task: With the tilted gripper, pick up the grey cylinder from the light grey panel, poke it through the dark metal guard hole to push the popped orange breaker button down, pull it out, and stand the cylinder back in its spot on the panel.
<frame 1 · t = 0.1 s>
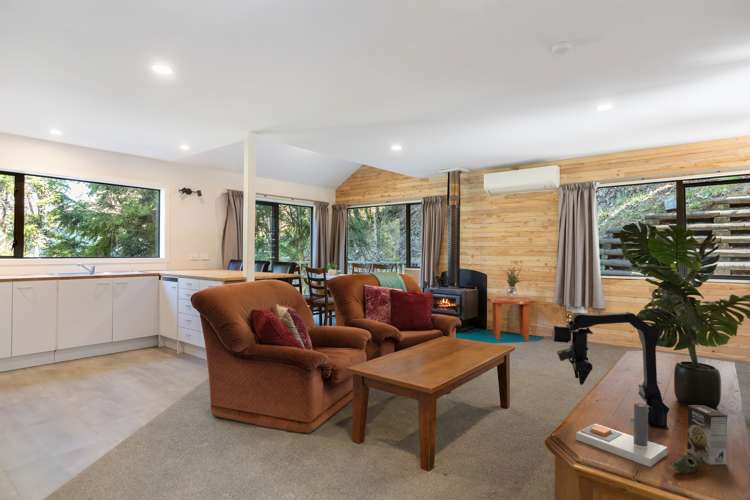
hand: (579, 381, 175), 15 cm above the table, tool pointing down, fingers open, 9 cm apart
coffee box: (706, 458, 141), on the table
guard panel: (619, 446, 148), on the table
grey cylinder: (640, 446, 143), point 2 cm above the table, touching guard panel
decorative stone: (687, 472, 132), on the table
breaker button: (601, 431, 154), point 3 cm above the table, slide at 0.0 cm
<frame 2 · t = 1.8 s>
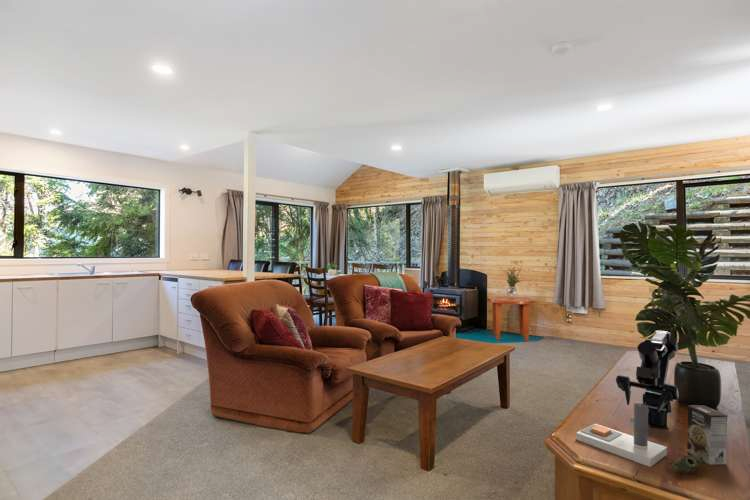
hand: (642, 408, 149), 13 cm above the table, tool tilted 45°, fingers open, 9 cm apart
nothing on the table moved.
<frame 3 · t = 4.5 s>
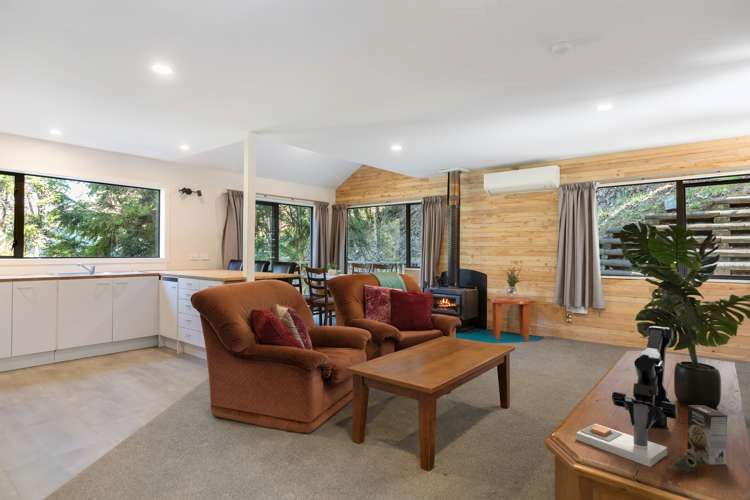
hand: (640, 427, 142), 10 cm above the table, tool tilted 45°, fingers closed on grey cylinder, 4 cm apart
grey cylinder: (640, 446, 143), point 3 cm above the table, touching gripper, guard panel
everything else where it was.
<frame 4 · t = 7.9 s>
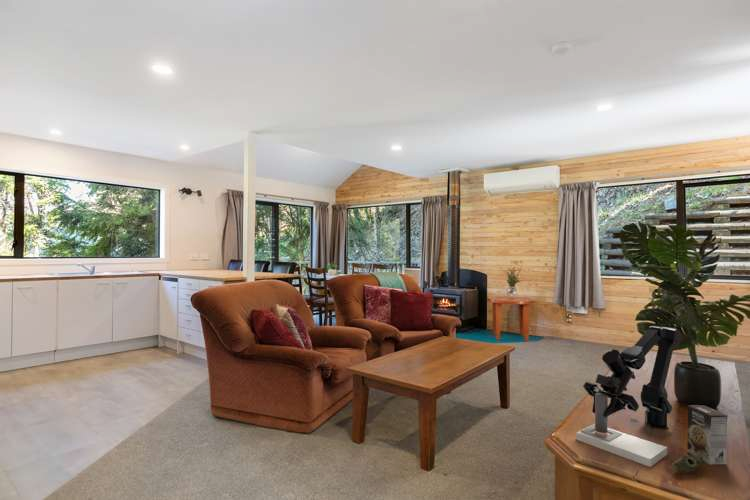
hand: (598, 414, 153), 10 cm above the table, tool tilted 45°, fingers closed on grey cylinder, 4 cm apart
grey cylinder: (601, 433, 154), point 2 cm above the table, touching breaker button, gripper
breaker button: (600, 436, 154), point 1 cm above the table, slide at 1.6 cm, touching grey cylinder
everything else where it was.
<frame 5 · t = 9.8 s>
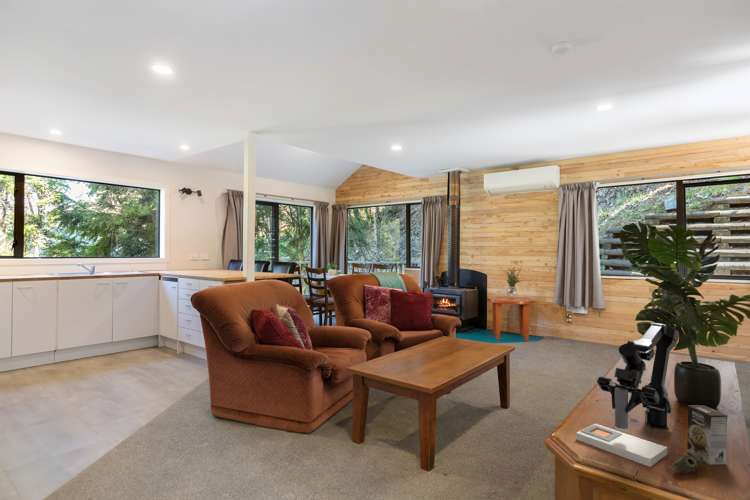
hand: (619, 410, 147), 13 cm above the table, tool tilted 45°, fingers closed on grey cylinder, 4 cm apart
grey cylinder: (621, 429, 148), point 6 cm above the table, touching gripper
breaker button: (600, 436, 154), point 1 cm above the table, slide at 1.6 cm
everything else where it was.
when the fingers open (11 cm above the table, at t = 11.3 s): grey cylinder stays where it is, resting on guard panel.
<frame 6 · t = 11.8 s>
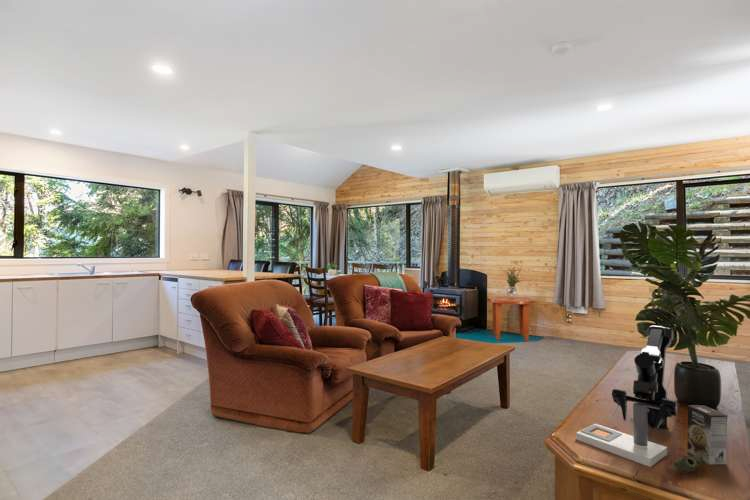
hand: (639, 424, 142), 11 cm above the table, tool tilted 45°, fingers open, 9 cm apart
grey cylinder: (640, 446, 143), point 3 cm above the table, touching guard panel
everything else where it was.
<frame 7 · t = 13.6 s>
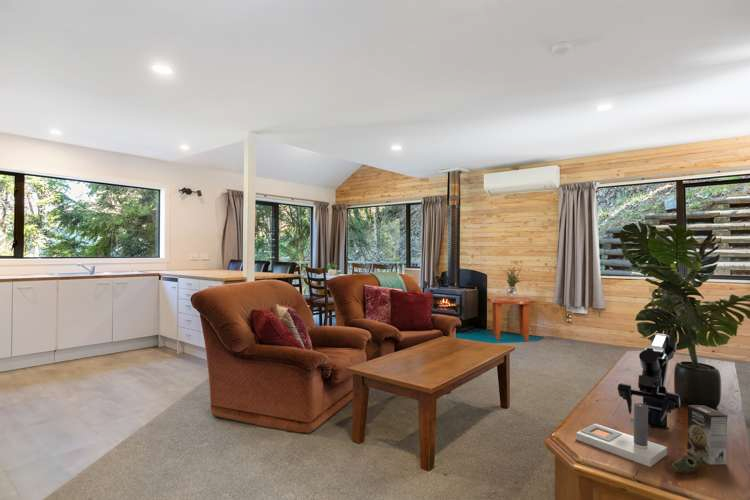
hand: (644, 416, 149), 10 cm above the table, tool tilted 45°, fingers open, 9 cm apart
nothing on the table moved.
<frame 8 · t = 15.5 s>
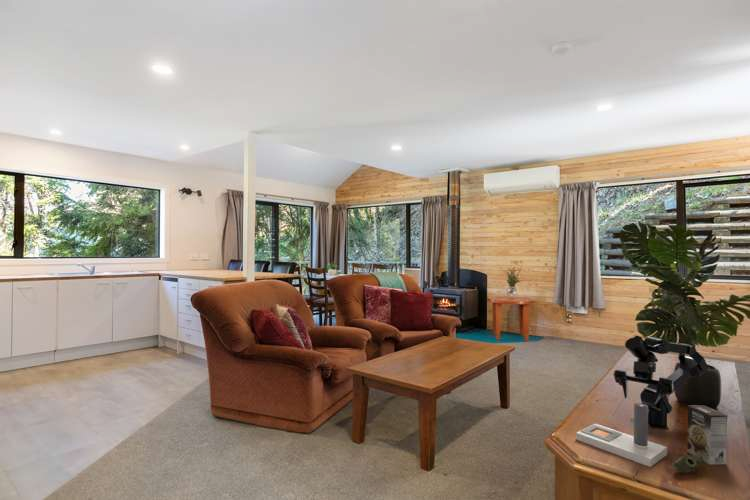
hand: (639, 400, 156), 14 cm above the table, tool tilted 45°, fingers open, 9 cm apart
nothing on the table moved.
at the end: breaker button slide at 1.6 cm; grey cylinder 0.1 cm from the target spot, point 2.5 cm above the table; grey cylinder tilted 0° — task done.
